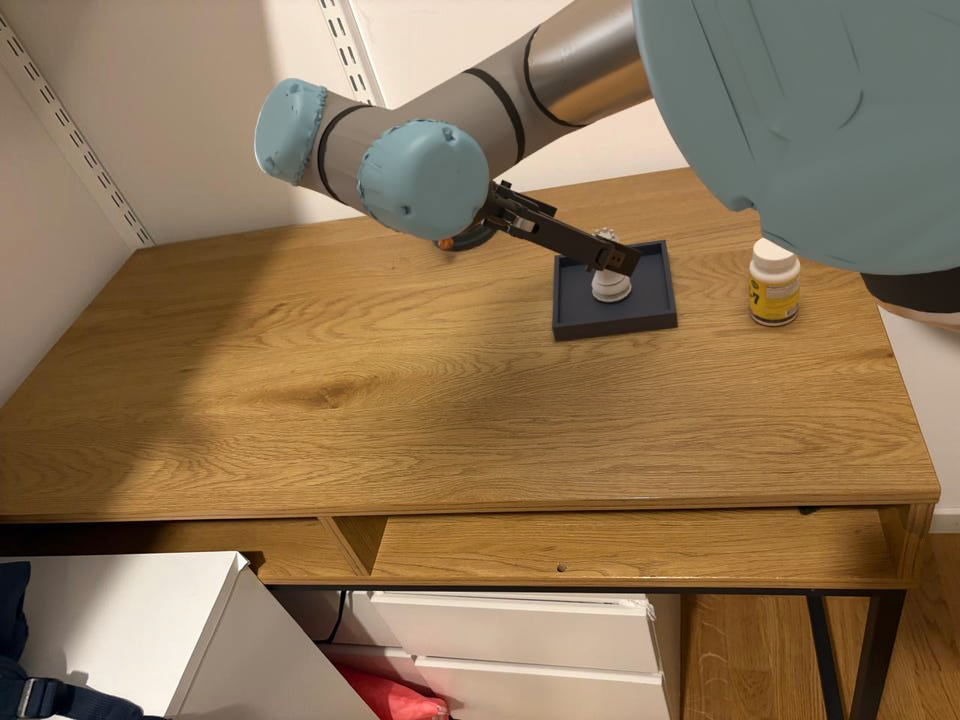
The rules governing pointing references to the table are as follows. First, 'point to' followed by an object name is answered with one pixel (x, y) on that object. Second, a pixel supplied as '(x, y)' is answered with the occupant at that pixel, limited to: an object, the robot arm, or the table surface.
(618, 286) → the rook chess piece
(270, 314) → the table surface
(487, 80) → the robot arm
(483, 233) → the mug
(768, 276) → the supplement bottle
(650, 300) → the dark tray
